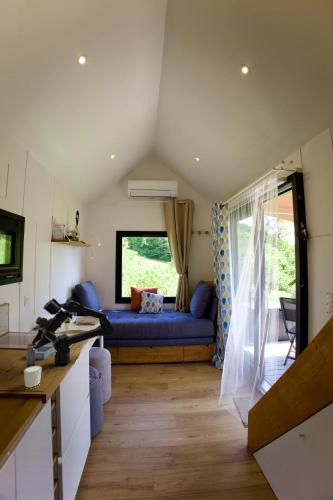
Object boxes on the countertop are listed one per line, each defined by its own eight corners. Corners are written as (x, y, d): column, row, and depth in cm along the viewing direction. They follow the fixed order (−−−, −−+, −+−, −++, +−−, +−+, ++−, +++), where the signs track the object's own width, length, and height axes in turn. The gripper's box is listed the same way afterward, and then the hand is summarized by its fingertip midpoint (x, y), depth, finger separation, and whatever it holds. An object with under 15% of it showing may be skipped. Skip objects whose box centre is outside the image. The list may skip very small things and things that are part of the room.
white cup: (44, 381, 112) (44, 365, 112) (36, 389, 105) (37, 372, 105) (28, 381, 111) (29, 365, 112) (20, 389, 105) (20, 372, 105)
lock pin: (40, 368, 125) (40, 343, 125) (32, 373, 119) (33, 347, 119) (28, 367, 126) (29, 342, 126) (20, 373, 120) (21, 346, 120)
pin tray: (55, 352, 147) (55, 346, 147) (44, 359, 136) (44, 353, 136) (37, 351, 148) (38, 345, 148) (25, 358, 137) (25, 352, 137)
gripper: (43, 307, 135) (18, 331, 128) (49, 314, 120) (22, 341, 113) (58, 320, 139) (35, 344, 132) (66, 328, 124) (41, 355, 117)
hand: (33, 346), depth 123 cm, fingers open, 9 cm apart
